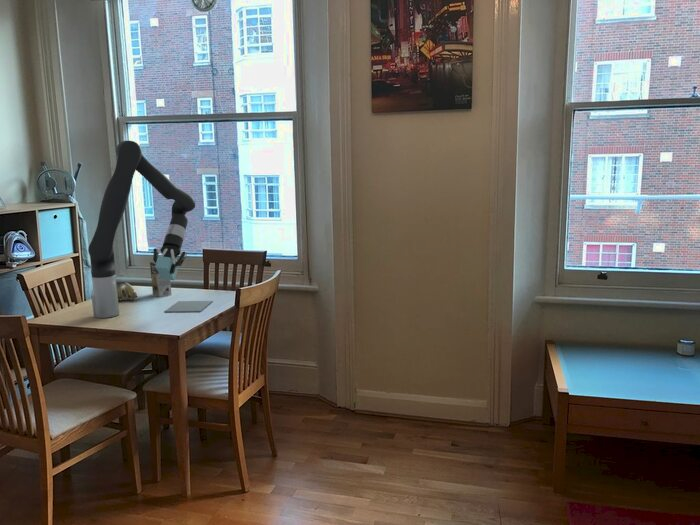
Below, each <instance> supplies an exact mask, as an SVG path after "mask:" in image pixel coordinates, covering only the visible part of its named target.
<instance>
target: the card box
mask: <svg viewBox="0 0 700 525" xmlns="http://www.w3.org/2000/svg"><path fill="white" fill-rule="evenodd" d="M172 262H173V261H172V260H171V258H170V257H161V255H158V258H157V262H156V265H155V268H156V269H157V271H158V272H159V274H160V275H161V277H162V278H163V279H167V280H170V281H176V278H177V273H178V271H179V270H178V268H177V267H176V268H175V272H174V273H173V274H170V269H171V265H172Z"/></svg>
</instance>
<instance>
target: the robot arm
mask: <svg viewBox="0 0 700 525" xmlns="http://www.w3.org/2000/svg"><path fill="white" fill-rule="evenodd" d="M142 151H143V150H142V147H141V145H139V144H138V143H137V142H136V141H133V140H123V141H120V142H119V143H118V144H117V146H116V148H115V153H116V156H117V159H116V160H117V161H116V165H115V169H114V171H113V174H112V176H111V178H110V180H109V182H108V183H107V186H106V188H105V191H104V193H103V197H102V200H101V205H100V209H99V213H98V214H99V215H98V219H97V220H98V221H97V226H96V229H95V230H94V231H95V232H94V234H93V236H92V239H91V241H90V243H89V245H88V248H87V251H88V254H89V256H90V275H91V281H92V291H93V294H91V303H92V312H93V313H92V314H93V318H98V319H108V318H113V317H117V316H119V315H120V308H119V300H118V295H117V289H118V286H117V276H116V264H115V262H116V261H115V251H114V241H115V235H116V232H117V229H118V227H119V225H120V223H121V220H122V218H123V216H124V214H125V211H126V209H127V208H126V207H127V204H128V200H129V198H130V197H129V196H130V192H131V189H132V188H131V187H132V183H133V178H134V176H135V173H136V171H137V172H138V173H139V174H140V175H141V176H142V177H143V178H144V179H145V180H146V181H147V182H148V183H149V184H150V185H151V186H152V187H153V188H154V189H155V190H156V191H157V192H158V193H159V194H160V195H161V196H163V198H165V199H166V200H174V202H173V203H172V205H171V219H170V221H169V226H168V228H167V230H166V233H165V236H164V241H163V244H162V247H160V248H153V256H152V257H153V258H152V260H153V262H155V263H156V262H157V258H158V256H159V255H160V256H161V257H170V258H171V260H172V261H173V262H172V265H171V269H170V274H173V273H174V272H175V268H177V267H181V266H182V265H183V263H184V261H185V259H186V257H187V253H186V252H185V251H182V250H181V249H182V248H183V247H182V245H183V242H184V240H185V235H186V229H187V226H188V223H189V220H188V218H187V216H186V214H187V213H189V212H191V211H193V210H194V209H195V208H196V205H197V204H196V201H195V199H194V197H193V196H192V195H191V194H189V193H187V191H184V190H183V189H181V188H180V187H178V186H176V184H175V183H173V181H171V180H170V179H169V178H168V177H167V176H166V175H165V174H164V173H163V172H162V171H160V170H159V169H158V168H156V167H155V166H154V165H153V164H152V163H151V162H150V161H149V160H147V158H146V157H145V156H144V155H143V152H142ZM177 257H178V259H177ZM156 272H157V273H159V272H158V271H157V269H156Z"/></svg>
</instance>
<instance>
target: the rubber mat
mask: <svg viewBox="0 0 700 525" xmlns="http://www.w3.org/2000/svg"><path fill="white" fill-rule="evenodd" d="M212 303H214V300H186V301H185V300H178V301H176V302H175V303H174V304H172V305H171V306H170V307H168V308H167V309H166V310H164V311H163V312H164V313H201V312H203V311H204V310H205V309H206V308H207V307H208V306H210V305H211V304H212Z"/></svg>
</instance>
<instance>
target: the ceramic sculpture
mask: <svg viewBox="0 0 700 525" xmlns="http://www.w3.org/2000/svg"><path fill="white" fill-rule="evenodd" d="M117 295H118V301H120V300H121V301H129V300H135V299H137V298H138V297H137V296H138V294H137V292H135V289H134V288H133V286H132V285H131V284H130V283H128V282H126V281H124V282H121V283H120V285H119V286H118V287H117Z"/></svg>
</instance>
